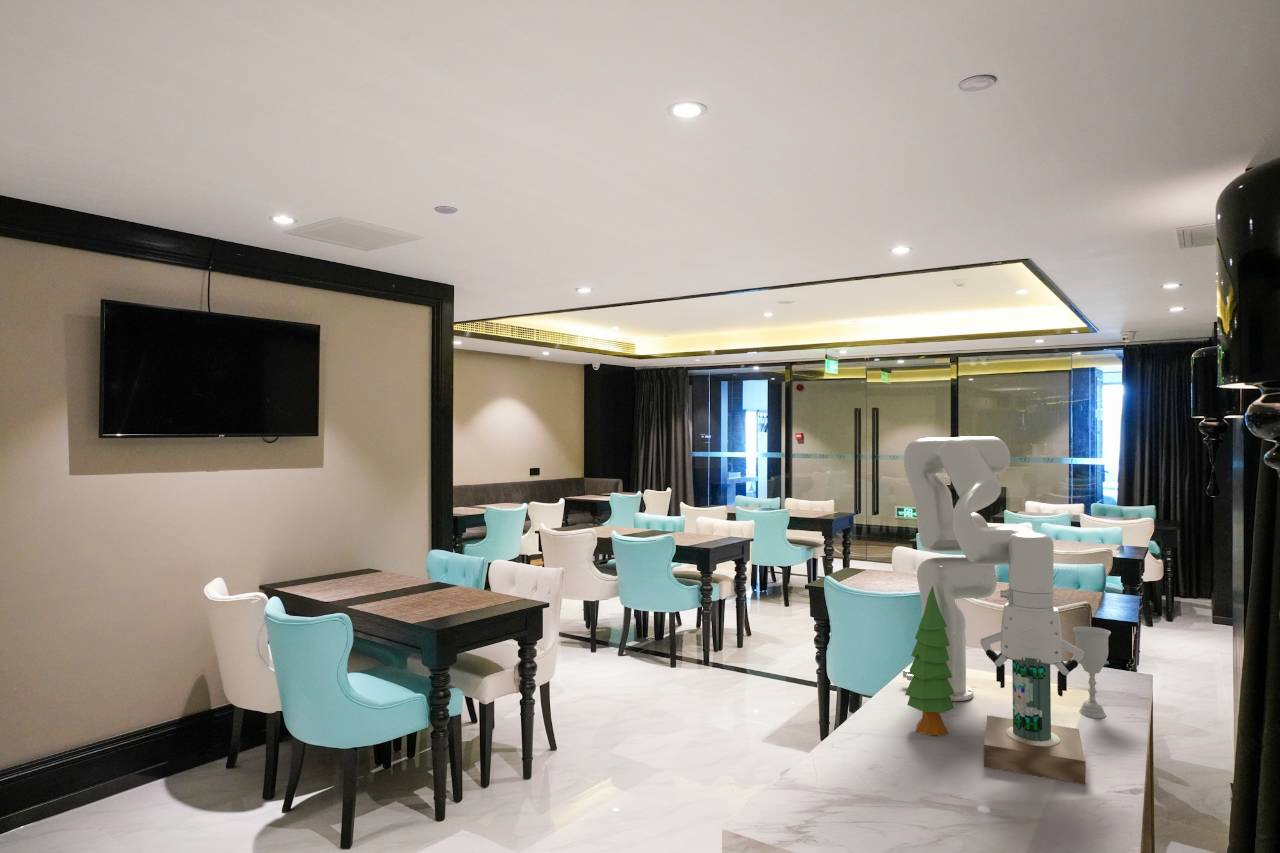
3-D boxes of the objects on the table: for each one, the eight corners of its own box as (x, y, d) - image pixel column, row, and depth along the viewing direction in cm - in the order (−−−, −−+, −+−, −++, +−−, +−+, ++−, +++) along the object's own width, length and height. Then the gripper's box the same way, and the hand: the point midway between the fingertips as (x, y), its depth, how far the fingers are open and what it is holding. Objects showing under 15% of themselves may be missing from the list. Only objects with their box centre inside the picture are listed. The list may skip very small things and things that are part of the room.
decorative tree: (937, 742, 148) (936, 590, 149) (894, 728, 156) (893, 583, 156) (962, 730, 155) (960, 583, 155) (919, 717, 162) (918, 577, 162)
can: (1006, 730, 143) (1005, 651, 144) (1031, 726, 145) (1030, 648, 145) (1031, 743, 138) (1031, 660, 138) (1057, 738, 139) (1057, 657, 140)
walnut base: (984, 766, 138) (983, 743, 138) (987, 735, 152) (987, 714, 152) (1085, 784, 130) (1085, 759, 130) (1078, 749, 145) (1078, 727, 145)
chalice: (1102, 708, 167) (1101, 626, 167) (1118, 719, 160) (1117, 634, 160) (1067, 707, 167) (1066, 626, 167) (1082, 718, 160) (1081, 634, 161)
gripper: (979, 598, 142) (979, 689, 142) (1085, 608, 134) (1085, 704, 134) (981, 590, 149) (981, 677, 149) (1082, 599, 141) (1082, 690, 141)
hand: (1030, 689), depth 142 cm, fingers open, 9 cm apart
